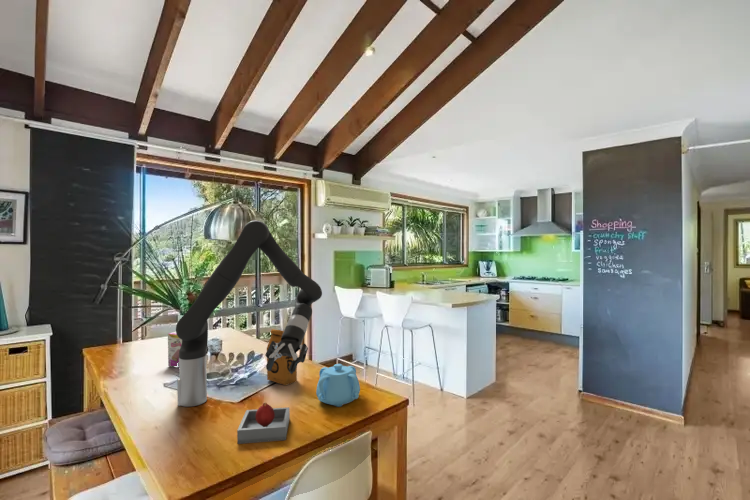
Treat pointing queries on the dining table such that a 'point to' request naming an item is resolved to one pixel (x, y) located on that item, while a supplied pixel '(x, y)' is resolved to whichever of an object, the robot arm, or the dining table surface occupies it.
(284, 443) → the dining table surface
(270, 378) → the coffee package
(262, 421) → the onion
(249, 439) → the bin
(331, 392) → the decorative pot
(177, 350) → the candy bar box
